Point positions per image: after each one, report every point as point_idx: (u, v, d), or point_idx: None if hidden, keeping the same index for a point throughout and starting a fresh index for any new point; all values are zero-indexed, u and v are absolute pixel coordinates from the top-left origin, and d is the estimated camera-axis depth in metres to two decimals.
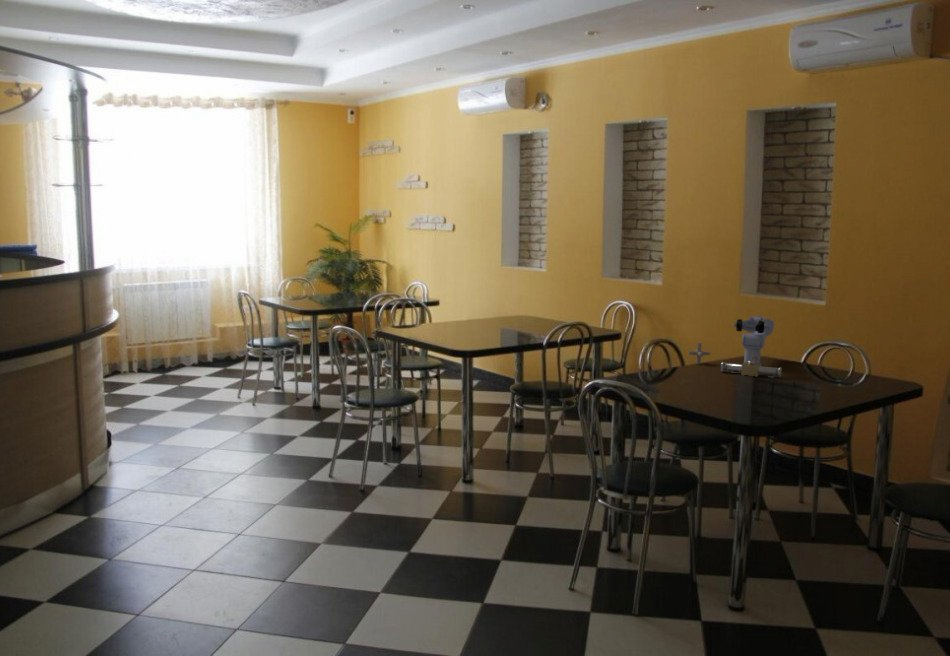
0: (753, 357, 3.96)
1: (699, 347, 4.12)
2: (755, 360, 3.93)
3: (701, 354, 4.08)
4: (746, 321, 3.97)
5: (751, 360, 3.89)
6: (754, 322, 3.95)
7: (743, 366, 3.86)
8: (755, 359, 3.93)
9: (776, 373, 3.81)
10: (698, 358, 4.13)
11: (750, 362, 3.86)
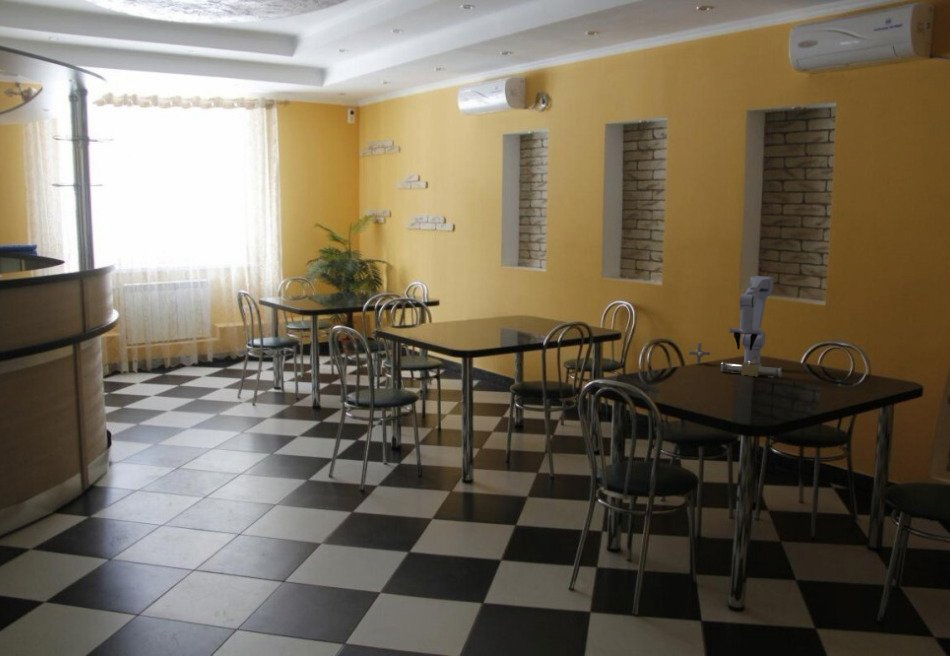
0: (753, 357, 3.96)
1: (699, 347, 4.12)
2: (755, 360, 3.93)
3: (701, 354, 4.08)
4: (740, 331, 3.92)
5: (751, 360, 3.89)
6: None
7: (743, 366, 3.86)
8: (755, 359, 3.93)
9: (776, 373, 3.81)
10: (698, 358, 4.13)
11: (750, 362, 3.86)
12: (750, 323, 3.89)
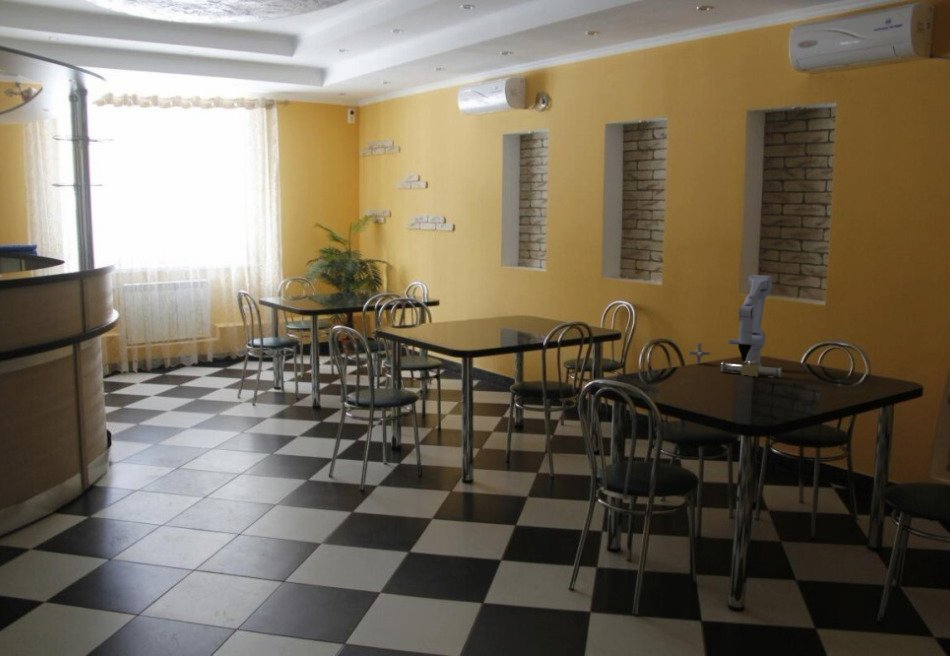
0: (753, 357, 3.96)
1: (699, 347, 4.12)
2: (755, 360, 3.93)
3: (701, 354, 4.08)
4: (739, 342, 3.93)
5: (751, 360, 3.89)
6: None
7: (743, 366, 3.86)
8: (755, 359, 3.93)
9: (776, 373, 3.81)
10: (698, 358, 4.13)
11: (750, 362, 3.86)
12: (749, 334, 3.90)
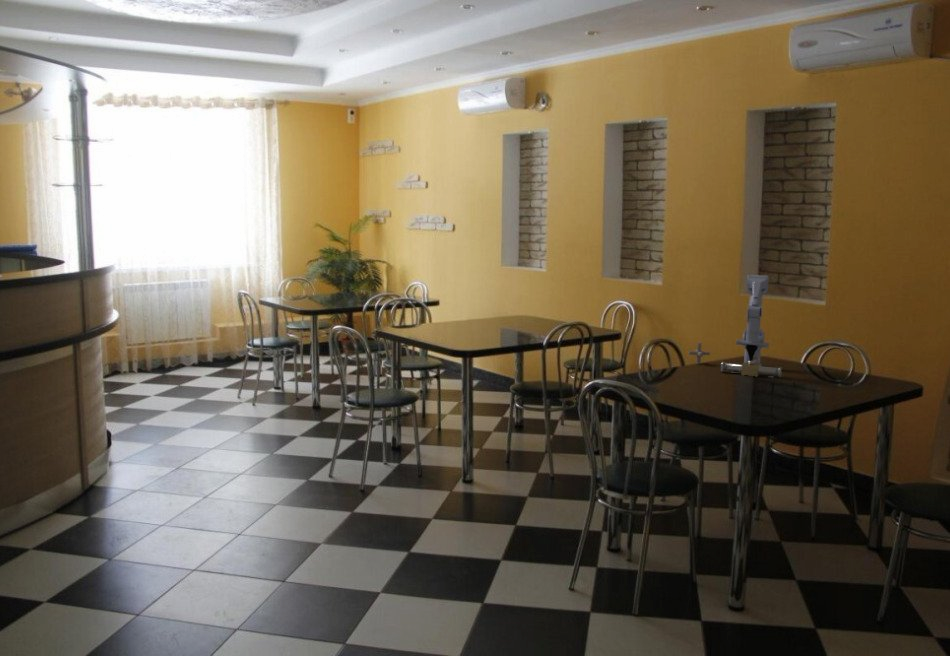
0: (754, 357, 3.96)
1: (699, 347, 4.12)
2: (755, 360, 3.93)
3: (701, 354, 4.08)
4: (746, 343, 3.92)
5: (751, 360, 3.89)
6: None
7: (743, 366, 3.86)
8: (755, 359, 3.93)
9: (776, 373, 3.81)
10: (698, 358, 4.13)
11: (750, 362, 3.86)
12: (756, 335, 3.89)
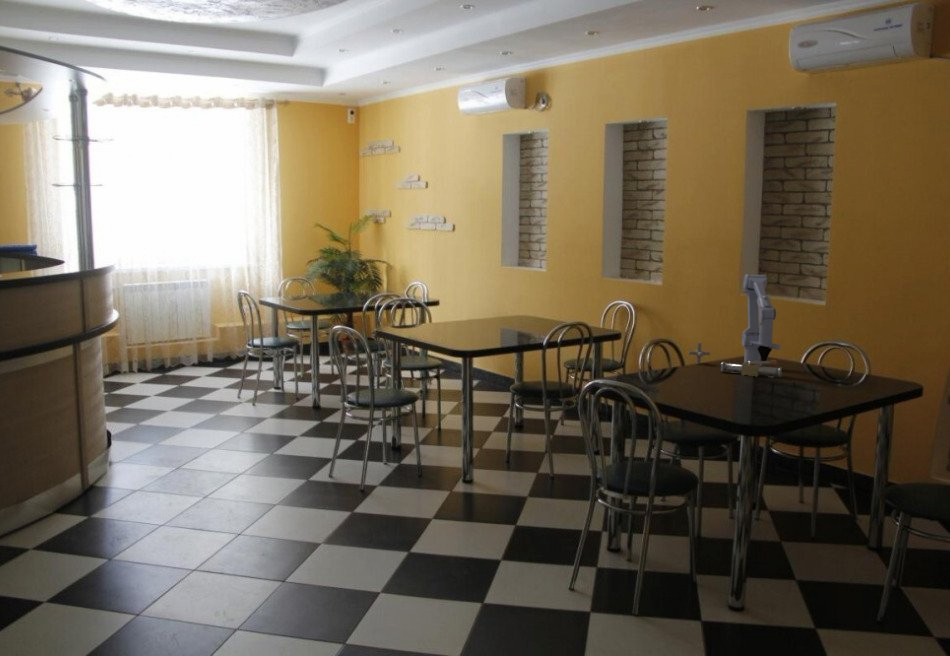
0: (769, 360, 3.90)
1: (699, 347, 4.12)
2: (766, 362, 3.88)
3: (701, 354, 4.08)
4: (758, 344, 3.90)
5: (755, 361, 3.88)
6: None
7: (743, 366, 3.86)
8: (766, 361, 3.88)
9: (776, 373, 3.81)
10: (698, 358, 4.13)
11: (748, 362, 3.87)
12: (767, 336, 3.86)
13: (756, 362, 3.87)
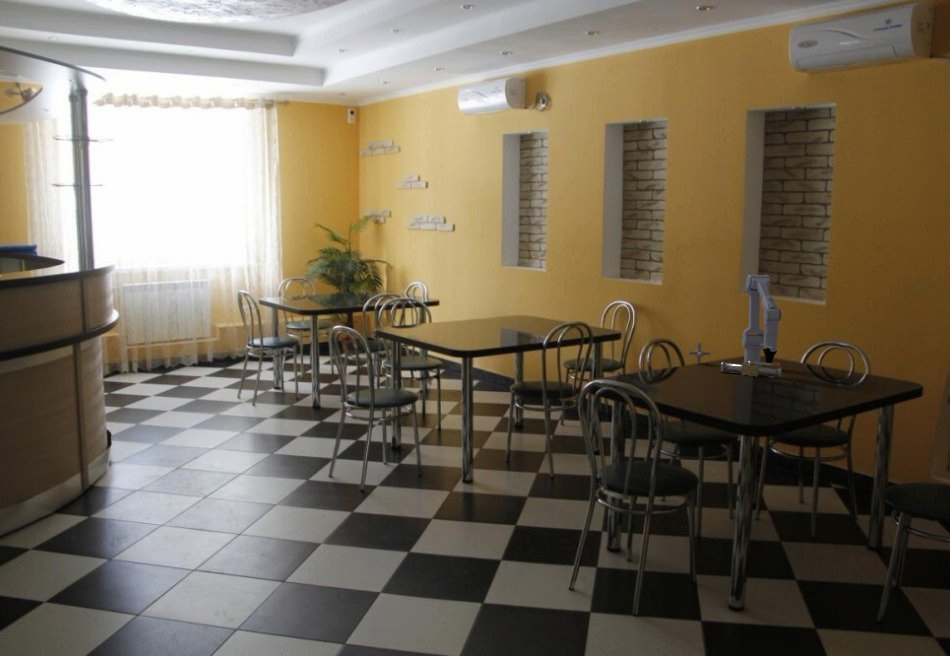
0: (773, 362, 3.84)
1: (699, 347, 4.12)
2: (767, 364, 3.84)
3: (701, 354, 4.08)
4: None
5: (756, 361, 3.87)
6: None
7: (743, 366, 3.86)
8: (767, 363, 3.84)
9: (776, 373, 3.81)
10: (698, 358, 4.13)
11: (748, 361, 3.88)
12: (767, 337, 3.83)
13: (756, 363, 3.86)
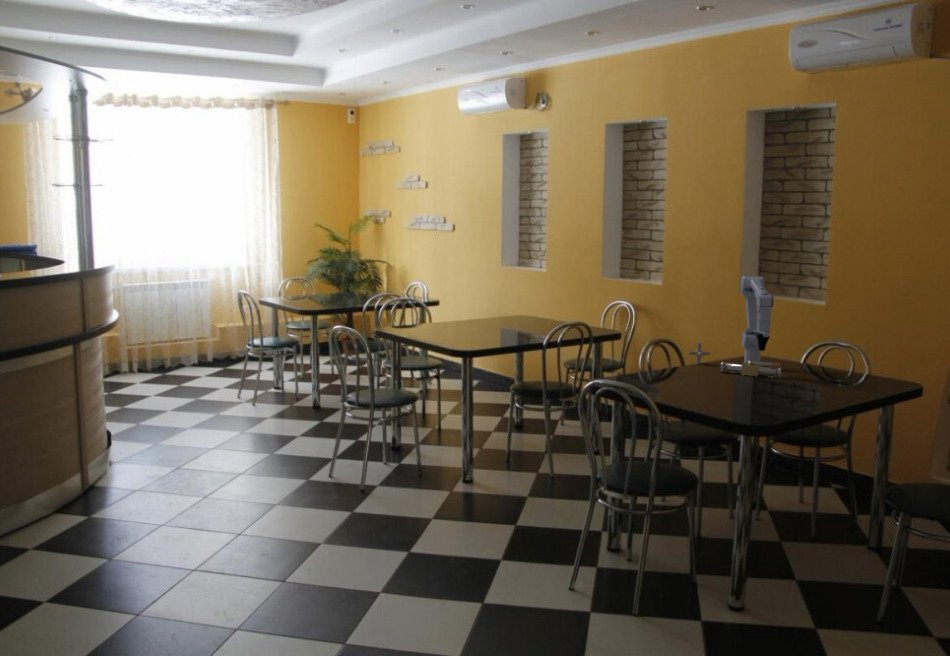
0: (773, 362, 3.84)
1: (699, 347, 4.12)
2: (767, 364, 3.84)
3: (701, 354, 4.08)
4: None
5: (756, 361, 3.87)
6: None
7: (743, 366, 3.86)
8: (767, 363, 3.84)
9: (776, 373, 3.81)
10: (698, 358, 4.13)
11: (748, 361, 3.88)
12: (760, 323, 3.89)
13: (756, 363, 3.86)
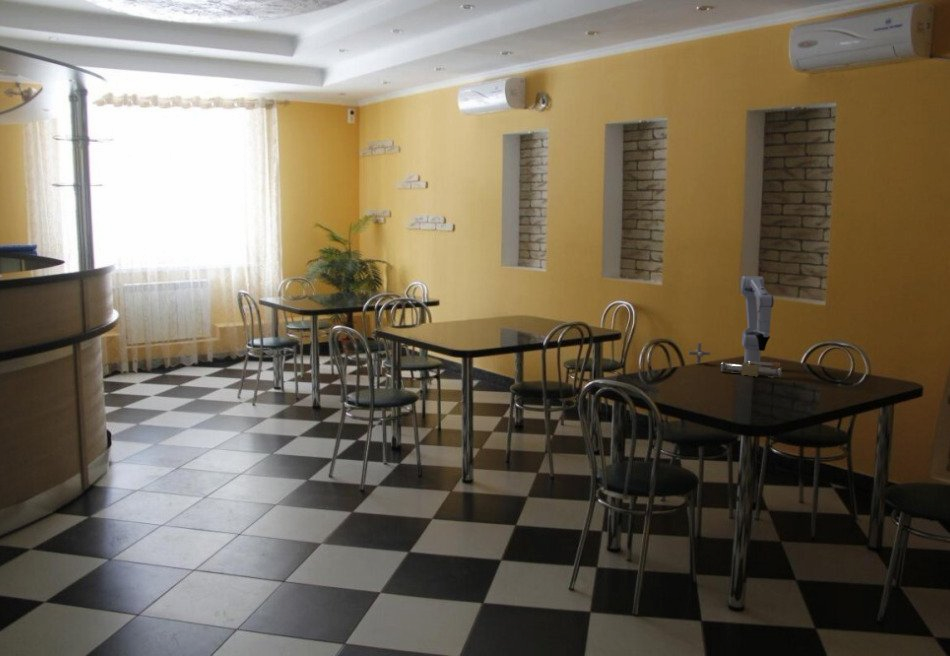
0: (773, 362, 3.84)
1: (699, 347, 4.12)
2: (767, 364, 3.84)
3: (701, 354, 4.08)
4: None
5: (756, 361, 3.87)
6: None
7: (743, 366, 3.86)
8: (767, 363, 3.84)
9: (776, 373, 3.81)
10: (698, 358, 4.13)
11: (748, 361, 3.88)
12: (760, 323, 3.89)
13: (756, 363, 3.86)
